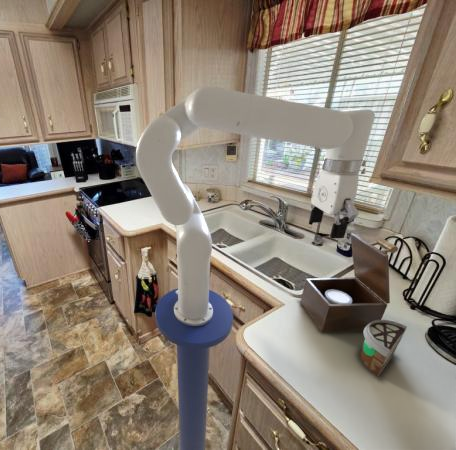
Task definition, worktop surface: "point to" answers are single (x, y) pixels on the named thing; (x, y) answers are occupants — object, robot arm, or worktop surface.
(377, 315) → the chest
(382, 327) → the food container
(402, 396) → the worktop surface
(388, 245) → the chest lid
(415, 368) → the worktop surface
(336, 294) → the white tapered cup
